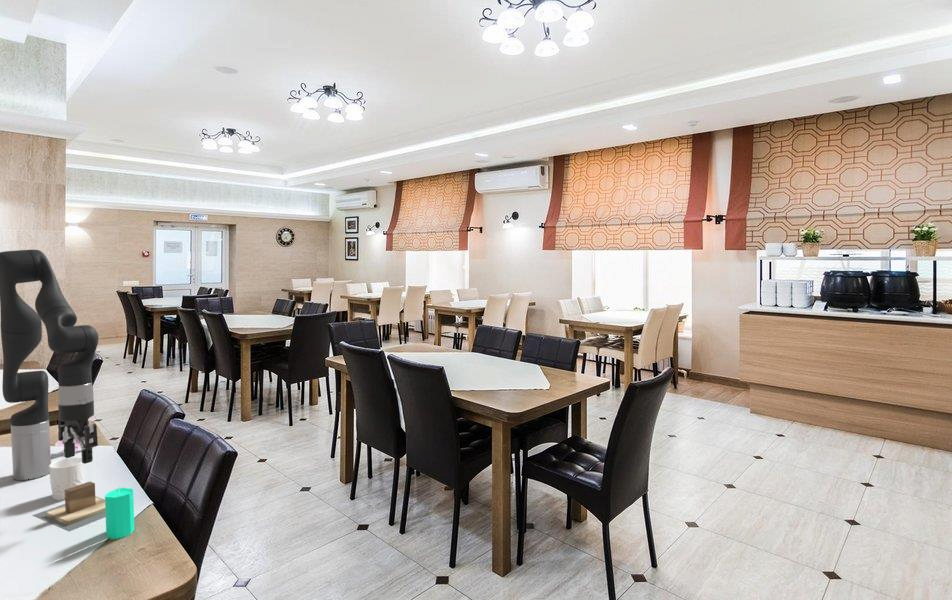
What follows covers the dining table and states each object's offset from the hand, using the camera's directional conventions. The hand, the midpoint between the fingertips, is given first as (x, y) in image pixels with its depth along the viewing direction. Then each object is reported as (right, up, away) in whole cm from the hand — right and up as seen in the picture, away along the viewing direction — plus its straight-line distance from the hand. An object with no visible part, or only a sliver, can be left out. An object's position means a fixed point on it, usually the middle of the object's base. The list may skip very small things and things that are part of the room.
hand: (78, 459), depth 139 cm
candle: (+17, -16, -9) cm, 25 cm away
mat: (0, -15, +1) cm, 15 cm away
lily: (-38, -12, +46) cm, 61 cm away
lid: (0, -14, +1) cm, 14 cm away
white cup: (-12, -14, +11) cm, 22 cm away
